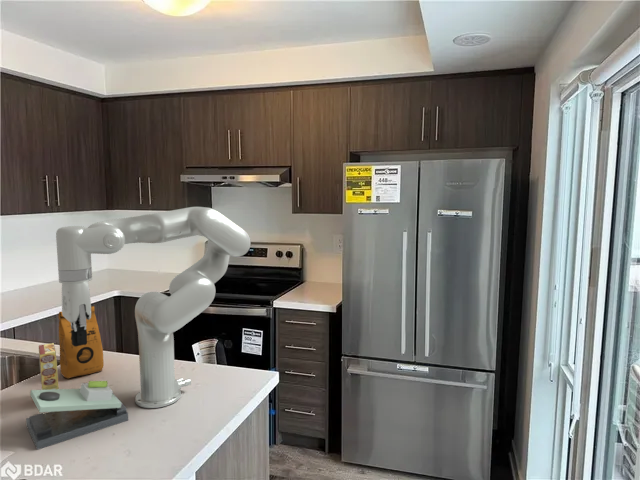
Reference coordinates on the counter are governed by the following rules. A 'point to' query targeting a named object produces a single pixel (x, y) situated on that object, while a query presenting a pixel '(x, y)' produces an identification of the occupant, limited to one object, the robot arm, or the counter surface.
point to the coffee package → (80, 349)
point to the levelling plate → (76, 398)
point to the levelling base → (71, 424)
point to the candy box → (48, 367)
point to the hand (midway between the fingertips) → (79, 344)
